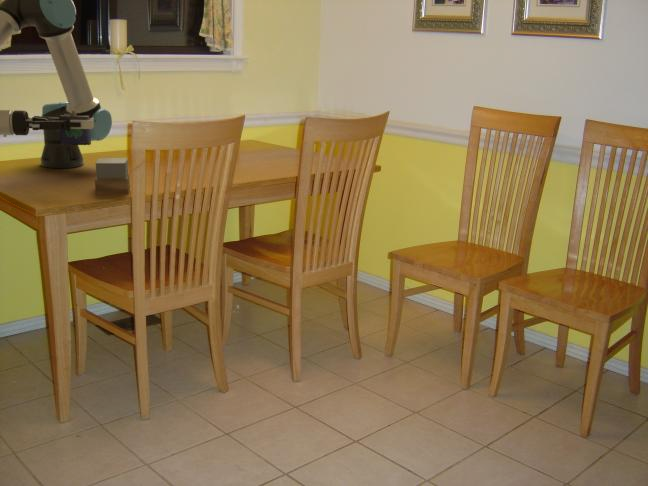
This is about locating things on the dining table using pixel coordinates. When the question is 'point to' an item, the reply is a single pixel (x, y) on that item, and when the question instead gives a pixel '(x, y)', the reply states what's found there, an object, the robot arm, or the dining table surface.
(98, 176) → the tower top
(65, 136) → the flask
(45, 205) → the dining table surface
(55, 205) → the dining table surface
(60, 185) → the dining table surface
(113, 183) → the tower base
